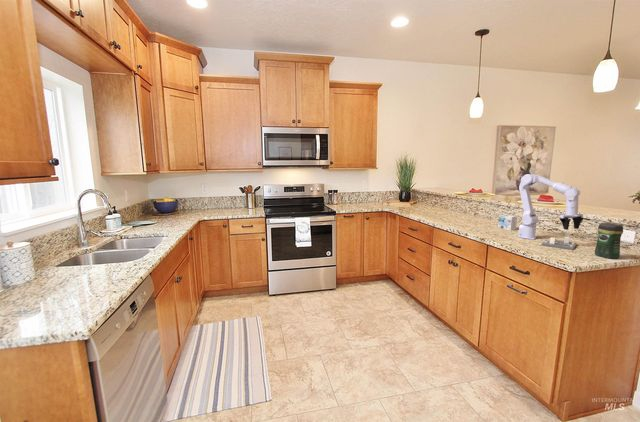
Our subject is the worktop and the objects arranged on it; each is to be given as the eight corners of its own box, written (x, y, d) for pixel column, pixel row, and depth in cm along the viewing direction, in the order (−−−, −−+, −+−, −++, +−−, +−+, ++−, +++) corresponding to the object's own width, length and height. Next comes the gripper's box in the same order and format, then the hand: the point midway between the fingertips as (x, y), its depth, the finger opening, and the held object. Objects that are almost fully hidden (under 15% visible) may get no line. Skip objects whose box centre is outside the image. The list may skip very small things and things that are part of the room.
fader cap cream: (549, 243, 184) (550, 237, 183) (550, 242, 186) (550, 237, 185) (554, 244, 182) (554, 238, 182) (555, 243, 184) (555, 237, 184)
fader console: (541, 245, 184) (541, 242, 184) (547, 240, 196) (547, 237, 196) (572, 250, 173) (573, 247, 173) (576, 244, 186) (577, 241, 185)
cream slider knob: (563, 242, 185) (564, 237, 185) (564, 242, 187) (565, 236, 187) (568, 243, 183) (569, 237, 183) (569, 242, 185) (570, 237, 185)
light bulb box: (497, 228, 237) (498, 214, 235) (502, 227, 239) (504, 214, 238) (510, 230, 227) (512, 216, 225) (516, 229, 230) (517, 216, 228)
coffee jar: (622, 259, 157) (628, 225, 154) (609, 259, 156) (615, 225, 153) (603, 253, 166) (607, 221, 163) (591, 254, 165) (595, 222, 162)
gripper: (568, 208, 177) (567, 230, 178) (588, 207, 179) (587, 229, 180) (557, 207, 184) (556, 229, 185) (576, 206, 186) (575, 227, 187)
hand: (571, 229), depth 183 cm, fingers open, 7 cm apart
